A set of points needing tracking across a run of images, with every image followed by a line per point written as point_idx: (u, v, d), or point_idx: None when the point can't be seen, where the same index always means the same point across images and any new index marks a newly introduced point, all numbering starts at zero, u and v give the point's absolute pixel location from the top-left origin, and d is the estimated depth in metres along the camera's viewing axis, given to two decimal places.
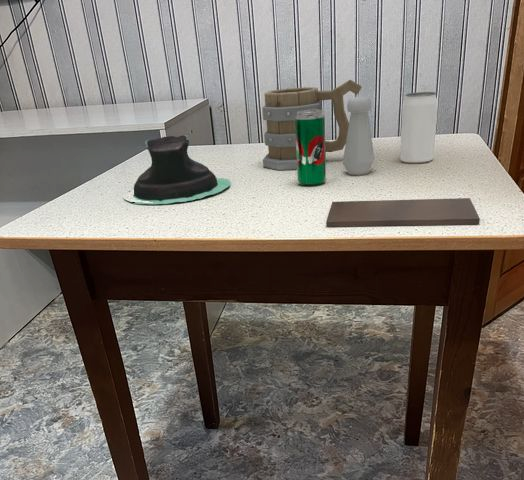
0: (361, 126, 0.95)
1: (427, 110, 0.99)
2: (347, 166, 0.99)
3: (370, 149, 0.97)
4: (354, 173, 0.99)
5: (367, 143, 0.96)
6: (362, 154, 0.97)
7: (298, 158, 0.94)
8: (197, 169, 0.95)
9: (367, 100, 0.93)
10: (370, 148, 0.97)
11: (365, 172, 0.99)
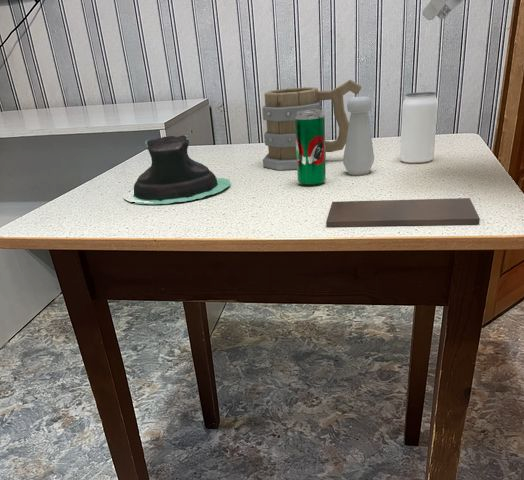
0: (361, 126, 0.95)
1: (427, 110, 0.99)
2: (347, 166, 0.99)
3: (370, 149, 0.97)
4: (354, 173, 0.99)
5: (367, 143, 0.96)
6: (362, 154, 0.97)
7: (298, 158, 0.94)
8: (197, 169, 0.95)
9: (367, 100, 0.93)
10: (370, 148, 0.97)
11: (365, 172, 0.99)
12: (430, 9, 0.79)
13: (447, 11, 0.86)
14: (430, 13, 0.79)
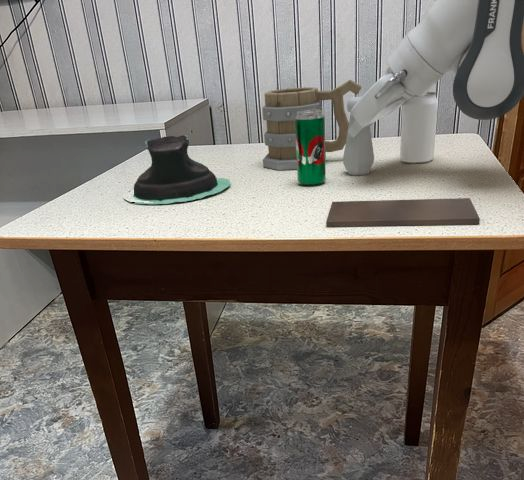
0: None
1: (427, 110, 0.99)
2: (347, 166, 0.99)
3: (370, 149, 0.97)
4: (354, 173, 0.99)
5: (366, 143, 0.96)
6: (362, 154, 0.97)
7: (298, 158, 0.94)
8: (197, 169, 0.95)
9: None
10: (370, 148, 0.97)
11: (365, 172, 0.99)
12: (354, 129, 0.95)
13: None
14: (354, 132, 0.95)
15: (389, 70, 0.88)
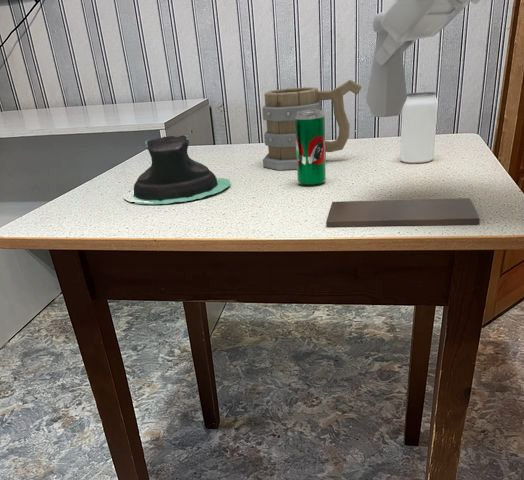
0: None
1: (427, 110, 0.99)
2: (372, 105, 0.77)
3: (402, 82, 0.75)
4: (381, 114, 0.77)
5: (398, 72, 0.74)
6: (392, 87, 0.75)
7: (298, 158, 0.94)
8: (197, 169, 0.95)
9: None
10: (402, 80, 0.75)
11: (395, 113, 0.77)
12: (382, 53, 0.73)
13: None
14: (383, 57, 0.73)
15: None
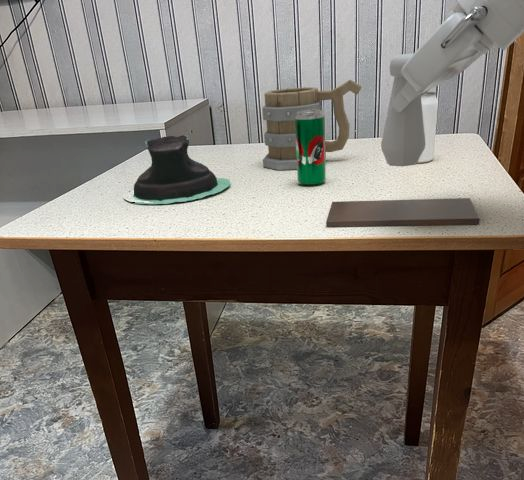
0: None
1: (427, 110, 0.99)
2: (388, 154, 0.71)
3: (421, 129, 0.69)
4: (397, 163, 0.71)
5: (417, 120, 0.68)
6: (410, 136, 0.69)
7: (298, 158, 0.94)
8: (197, 169, 0.95)
9: None
10: (421, 128, 0.69)
11: (413, 162, 0.71)
12: (400, 100, 0.66)
13: None
14: (400, 104, 0.67)
15: (457, 10, 0.60)
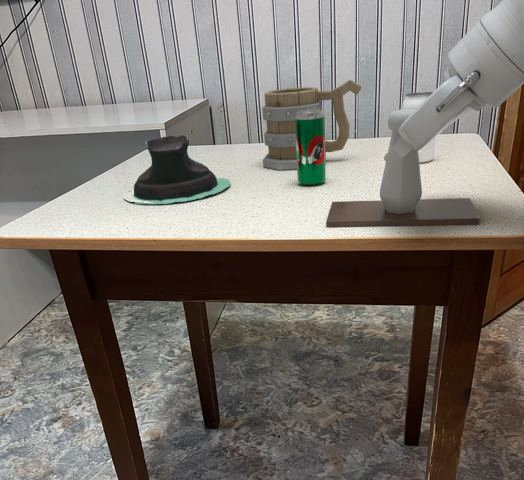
0: None
1: None
2: (386, 202, 0.74)
3: (418, 180, 0.72)
4: (395, 211, 0.74)
5: (414, 171, 0.71)
6: (407, 186, 0.72)
7: (298, 158, 0.94)
8: (197, 169, 0.95)
9: None
10: (418, 178, 0.72)
11: (410, 210, 0.74)
12: (393, 155, 0.68)
13: None
14: (393, 159, 0.68)
15: (451, 71, 0.63)
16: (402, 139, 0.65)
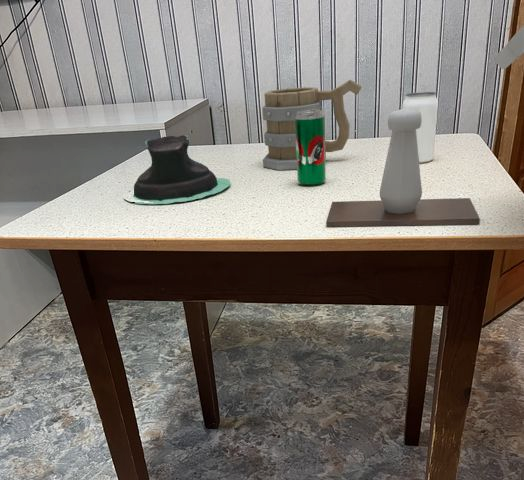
0: (407, 150, 0.70)
1: (427, 110, 0.99)
2: (386, 202, 0.74)
3: (418, 180, 0.72)
4: (395, 211, 0.74)
5: (414, 171, 0.71)
6: (407, 186, 0.72)
7: (298, 158, 0.94)
8: (197, 169, 0.95)
9: (416, 114, 0.68)
10: (418, 178, 0.72)
11: (410, 210, 0.74)
12: (506, 54, 0.58)
13: None
14: (506, 60, 0.58)
15: None
16: (522, 31, 0.56)
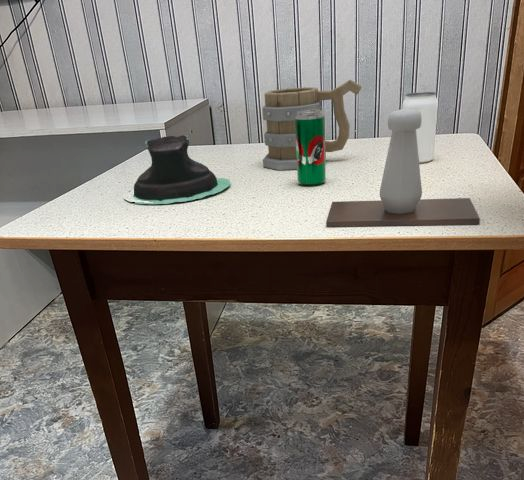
0: (407, 150, 0.70)
1: (427, 110, 0.99)
2: (386, 202, 0.74)
3: (418, 180, 0.72)
4: (395, 211, 0.74)
5: (414, 171, 0.71)
6: (407, 186, 0.72)
7: (298, 158, 0.94)
8: (197, 169, 0.95)
9: (416, 114, 0.68)
10: (418, 178, 0.72)
11: (410, 210, 0.74)
12: None
13: None
14: None
15: None
16: None
